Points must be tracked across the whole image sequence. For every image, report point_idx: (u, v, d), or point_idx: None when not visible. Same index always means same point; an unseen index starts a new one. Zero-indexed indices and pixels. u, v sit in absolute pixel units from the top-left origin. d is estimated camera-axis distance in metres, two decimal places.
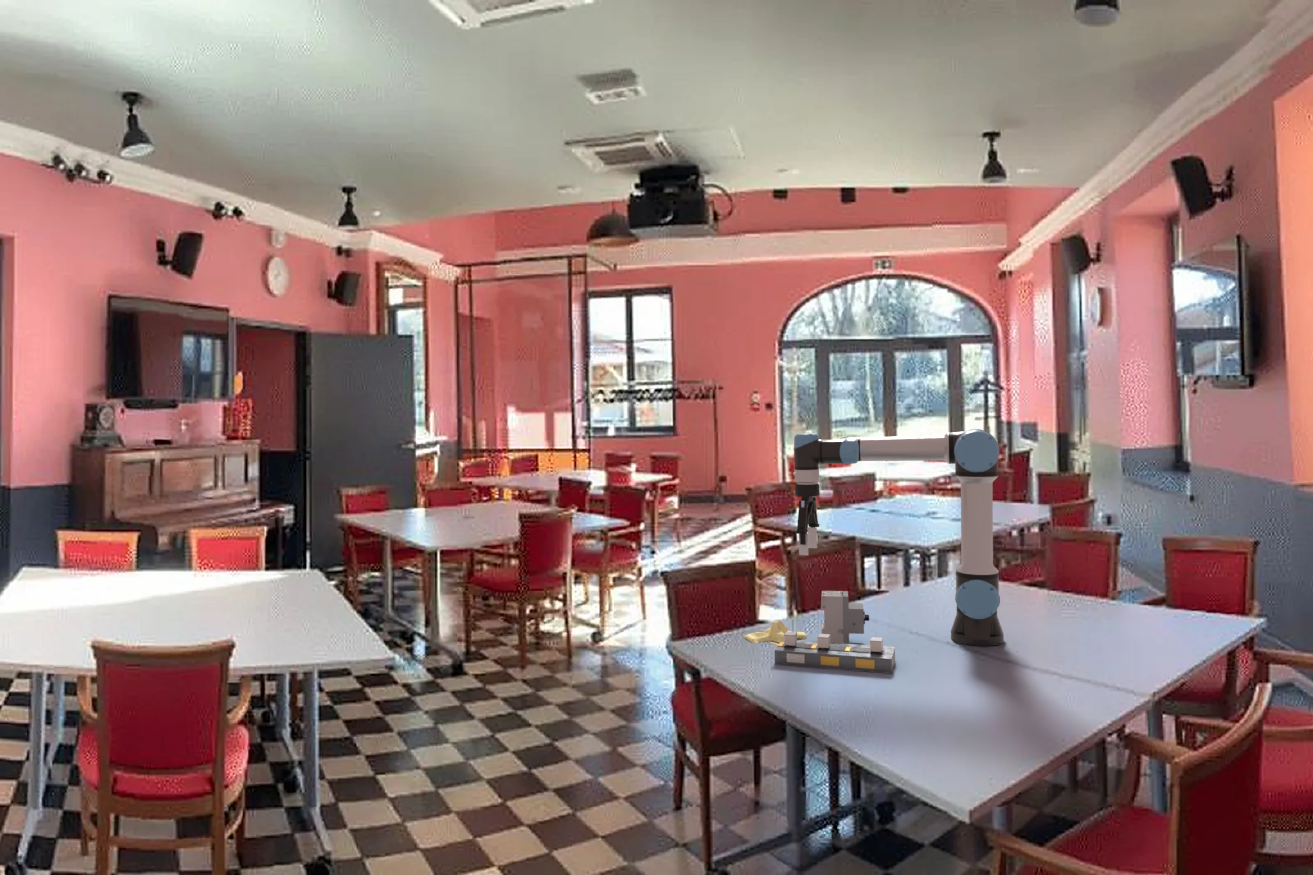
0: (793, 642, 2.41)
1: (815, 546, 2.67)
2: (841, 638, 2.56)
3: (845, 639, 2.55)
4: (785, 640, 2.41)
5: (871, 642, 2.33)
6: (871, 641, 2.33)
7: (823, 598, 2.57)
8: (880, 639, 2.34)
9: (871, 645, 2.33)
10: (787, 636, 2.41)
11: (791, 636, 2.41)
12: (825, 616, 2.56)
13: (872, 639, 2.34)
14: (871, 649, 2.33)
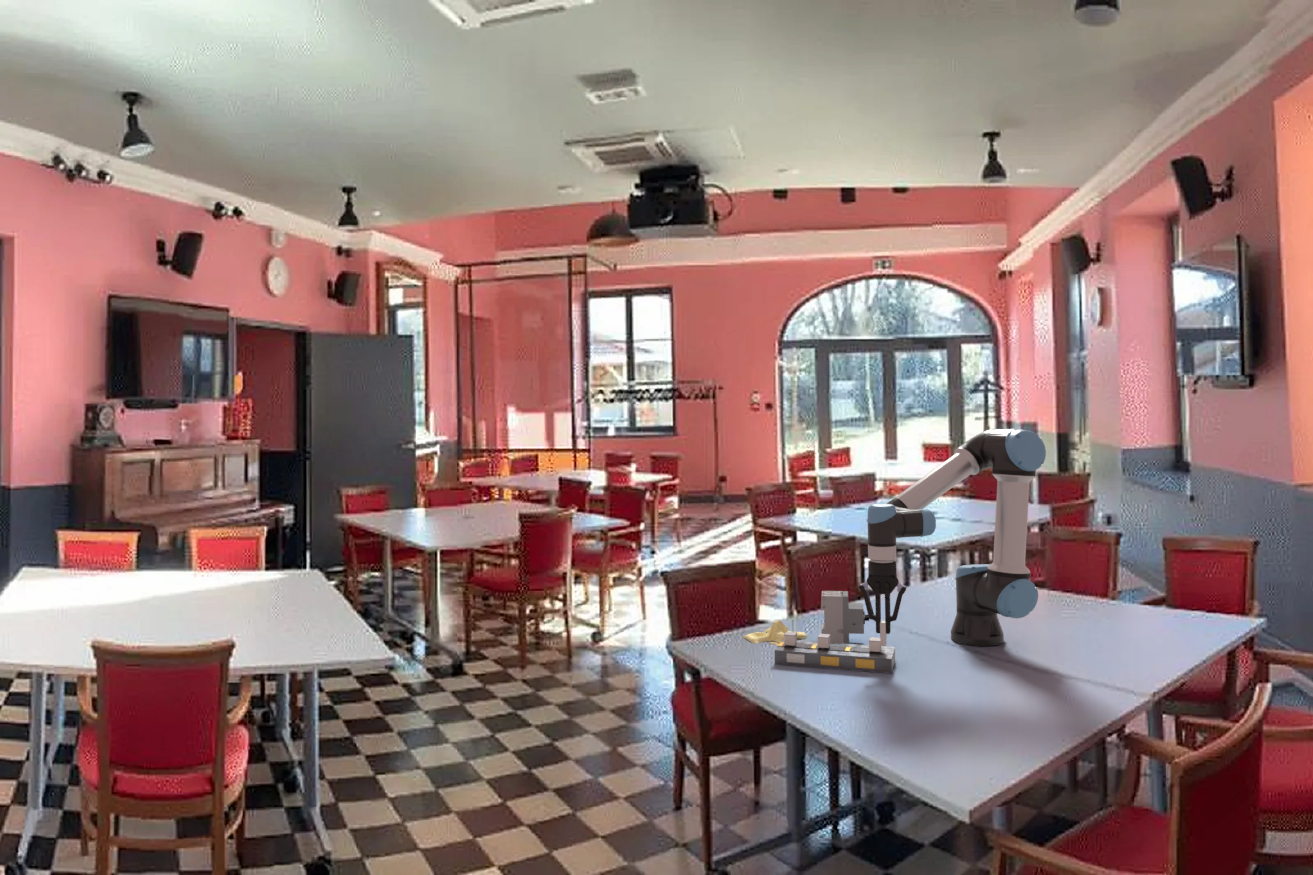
0: (793, 642, 2.41)
1: None
2: (841, 638, 2.56)
3: (845, 639, 2.55)
4: (785, 640, 2.41)
5: (870, 642, 2.33)
6: (870, 641, 2.33)
7: (823, 598, 2.57)
8: (879, 639, 2.34)
9: (870, 645, 2.33)
10: (787, 636, 2.41)
11: (791, 636, 2.41)
12: (825, 616, 2.56)
13: (871, 639, 2.34)
14: (870, 649, 2.33)
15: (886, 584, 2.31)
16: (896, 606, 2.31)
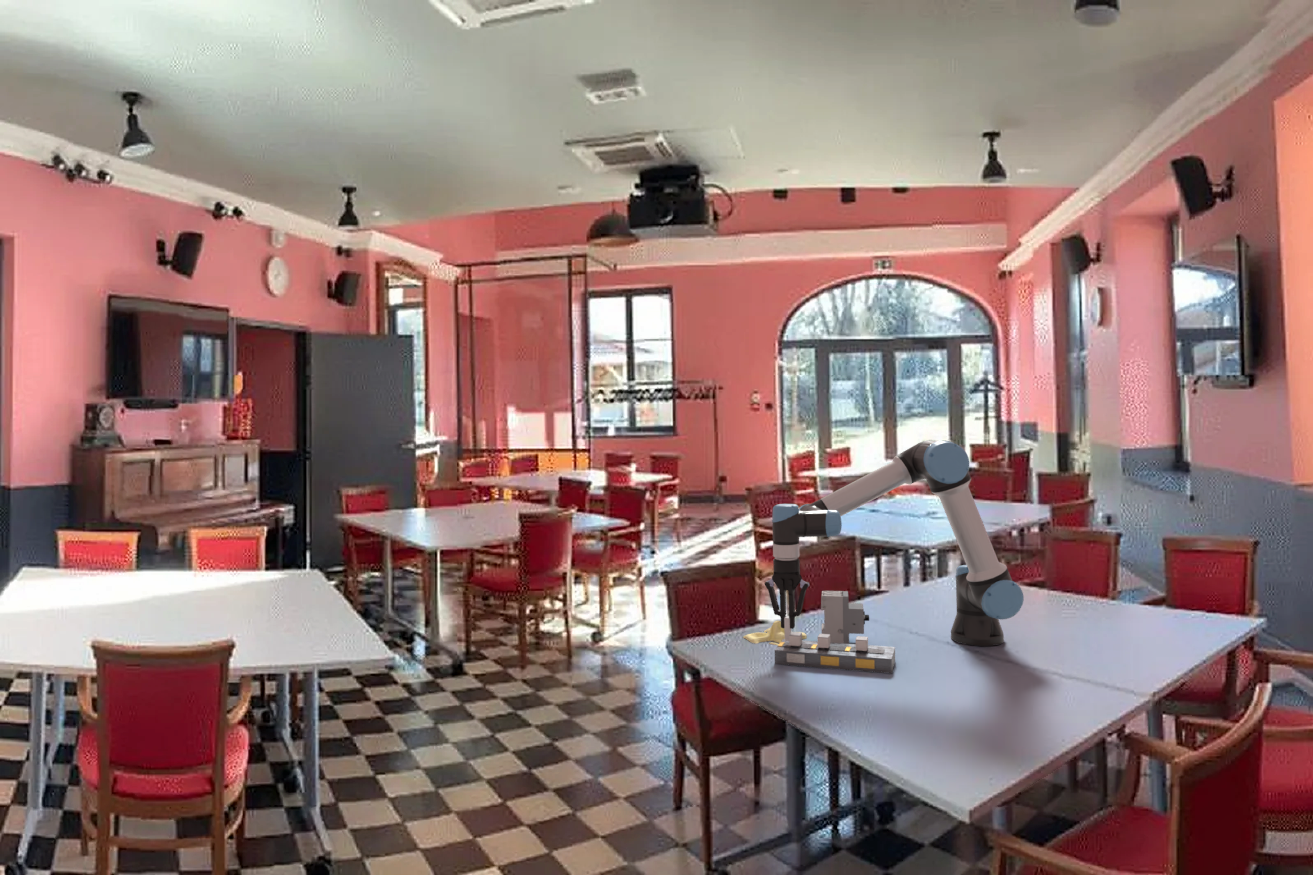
0: (798, 642, 2.40)
1: None
2: (841, 638, 2.56)
3: (845, 639, 2.55)
4: (790, 640, 2.41)
5: (856, 641, 2.34)
6: (856, 640, 2.34)
7: (823, 598, 2.57)
8: (865, 638, 2.35)
9: (856, 644, 2.34)
10: (792, 636, 2.41)
11: (796, 636, 2.40)
12: (825, 616, 2.56)
13: (857, 638, 2.35)
14: (856, 648, 2.34)
15: (789, 581, 2.40)
16: (799, 602, 2.40)
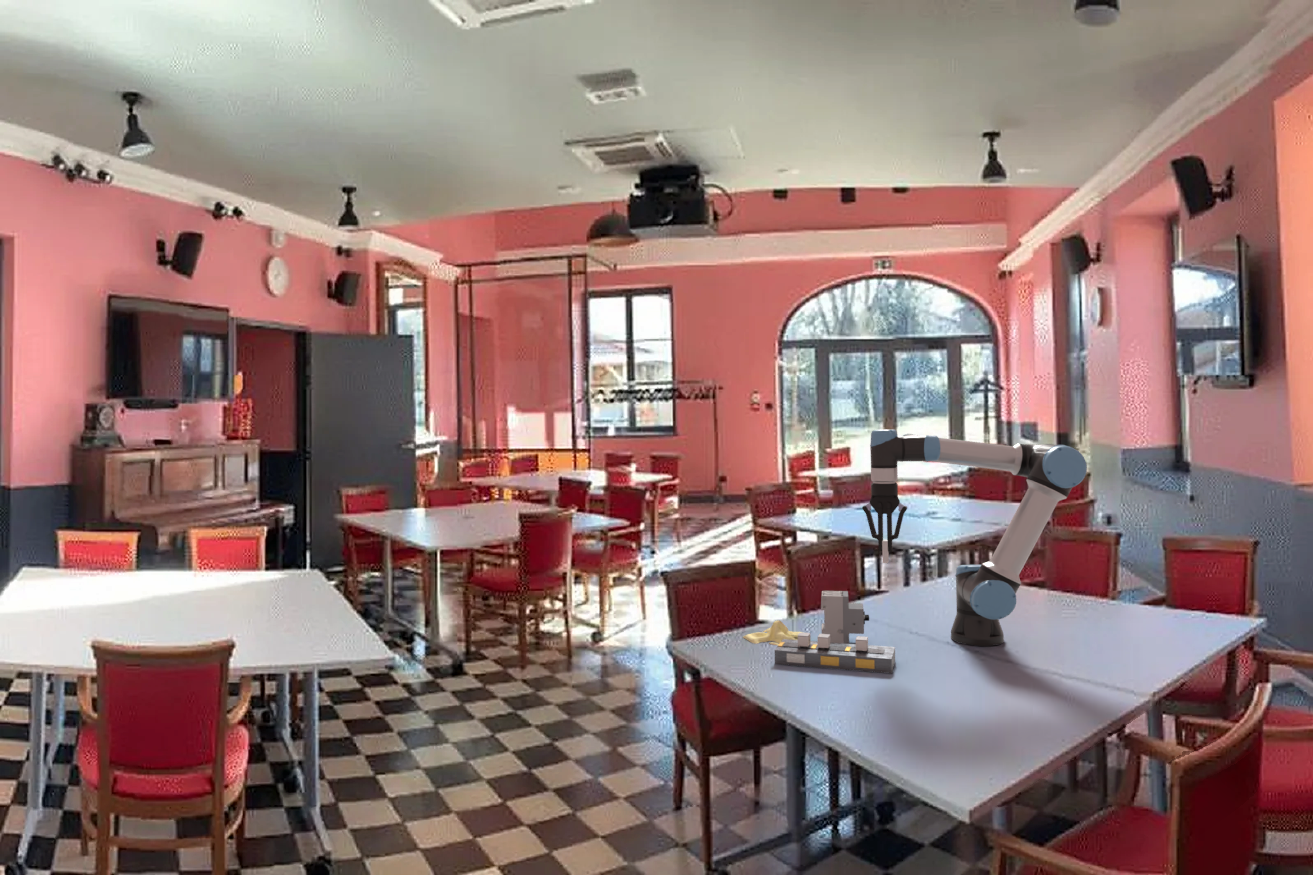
0: (806, 643, 2.39)
1: None
2: (841, 638, 2.56)
3: (845, 639, 2.55)
4: (798, 641, 2.40)
5: (856, 641, 2.34)
6: (856, 640, 2.34)
7: (823, 598, 2.57)
8: (865, 638, 2.35)
9: (856, 644, 2.34)
10: (800, 637, 2.40)
11: (804, 637, 2.39)
12: (825, 616, 2.56)
13: (857, 638, 2.35)
14: (856, 648, 2.34)
15: (888, 504, 2.45)
16: (897, 525, 2.45)
